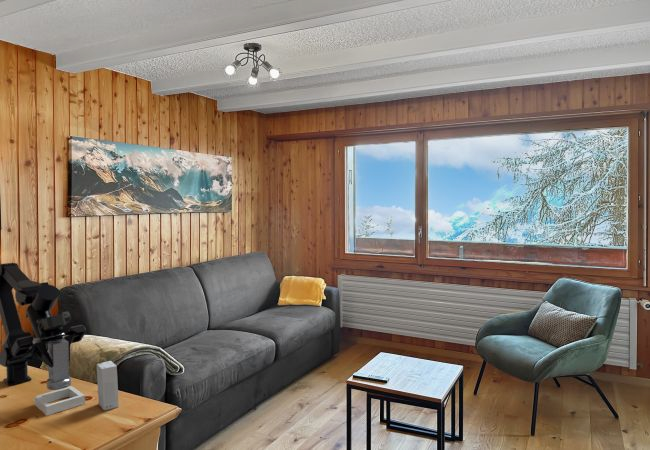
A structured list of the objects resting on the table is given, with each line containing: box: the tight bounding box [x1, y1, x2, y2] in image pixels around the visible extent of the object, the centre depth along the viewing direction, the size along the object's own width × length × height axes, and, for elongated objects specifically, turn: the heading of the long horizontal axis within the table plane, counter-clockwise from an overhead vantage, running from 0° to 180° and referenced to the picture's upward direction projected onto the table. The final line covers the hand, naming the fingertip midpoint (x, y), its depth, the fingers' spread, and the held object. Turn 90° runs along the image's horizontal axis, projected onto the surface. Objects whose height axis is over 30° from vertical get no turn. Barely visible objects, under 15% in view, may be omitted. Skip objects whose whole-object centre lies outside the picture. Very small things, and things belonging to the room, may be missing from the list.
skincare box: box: [96, 360, 120, 411], centre depth 132 cm, size 6×4×12 cm
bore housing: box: [34, 385, 86, 417], centre depth 133 cm, size 10×10×2 cm
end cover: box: [46, 339, 72, 391], centre depth 133 cm, size 6×6×13 cm
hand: (60, 364), depth 132 cm, fingers closed on end cover, 4 cm apart
